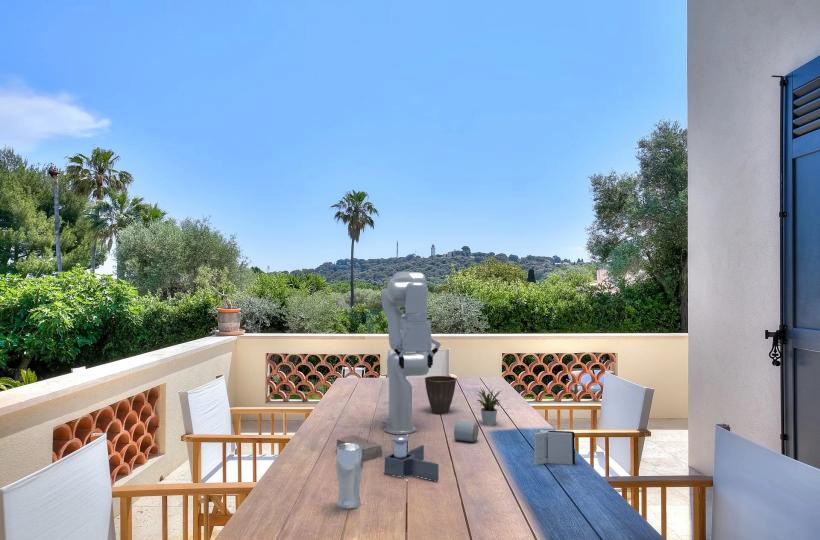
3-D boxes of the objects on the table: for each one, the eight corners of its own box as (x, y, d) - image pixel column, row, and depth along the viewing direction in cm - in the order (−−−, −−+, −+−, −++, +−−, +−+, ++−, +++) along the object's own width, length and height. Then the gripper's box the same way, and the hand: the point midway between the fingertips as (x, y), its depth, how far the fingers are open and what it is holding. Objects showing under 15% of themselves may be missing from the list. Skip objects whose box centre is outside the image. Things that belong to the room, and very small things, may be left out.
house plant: (465, 426, 208) (465, 387, 209) (473, 418, 221) (473, 382, 222) (499, 429, 203) (498, 389, 204) (505, 422, 216) (505, 384, 217)
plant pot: (461, 411, 236) (461, 377, 237) (446, 417, 223) (446, 382, 224) (434, 407, 244) (434, 374, 245) (418, 413, 231) (418, 379, 232)
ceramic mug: (474, 444, 183) (474, 423, 183) (453, 442, 186) (453, 421, 186) (481, 437, 193) (481, 417, 193) (460, 435, 195) (460, 415, 196)
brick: (383, 456, 169) (383, 443, 170) (364, 462, 163) (364, 448, 164) (354, 446, 181) (354, 433, 182) (335, 451, 175) (335, 438, 176)
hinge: (535, 465, 160) (534, 434, 161) (530, 460, 166) (530, 429, 166) (577, 464, 161) (576, 433, 162) (570, 459, 166) (570, 429, 167)
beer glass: (336, 499, 133) (337, 442, 134) (362, 498, 133) (363, 442, 134) (334, 510, 126) (335, 450, 127) (362, 509, 126) (362, 450, 127)
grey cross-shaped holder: (384, 473, 152) (384, 457, 153) (413, 458, 167) (414, 443, 167) (431, 485, 143) (431, 467, 143) (458, 468, 157) (458, 452, 158)
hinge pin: (389, 473, 153) (389, 437, 153) (398, 468, 157) (398, 434, 157) (402, 476, 150) (402, 440, 151) (411, 471, 154) (411, 436, 155)
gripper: (393, 319, 165) (392, 370, 165) (443, 319, 169) (442, 369, 168) (390, 317, 173) (389, 366, 172) (437, 317, 176) (437, 365, 176)
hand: (415, 367), depth 170 cm, fingers open, 9 cm apart
